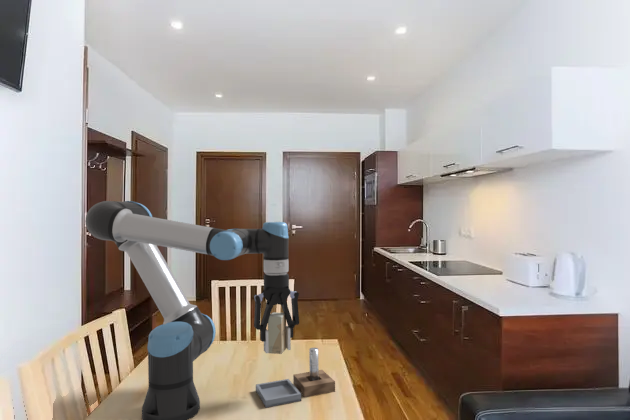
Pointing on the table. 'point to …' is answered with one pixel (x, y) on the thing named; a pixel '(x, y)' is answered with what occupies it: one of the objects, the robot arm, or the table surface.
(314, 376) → the pin
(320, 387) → the brown block with hole
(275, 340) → the box
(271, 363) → the table surface
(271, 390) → the tray
